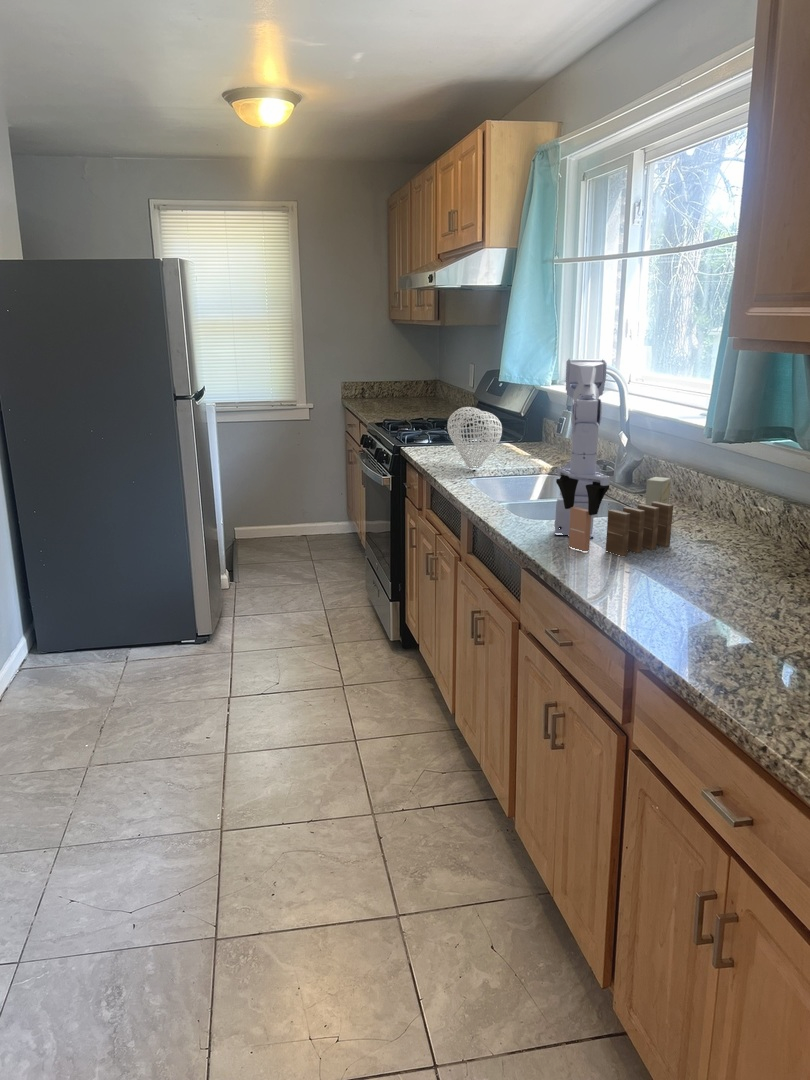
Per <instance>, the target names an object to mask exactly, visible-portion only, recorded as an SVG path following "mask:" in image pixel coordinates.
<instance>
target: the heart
mask: <svg viewBox="0 0 810 1080" xmlns="http://www.w3.org/2000/svg"><path fill="white" fill-rule="evenodd" d="M479 421H480V422H479ZM471 424H472V425H471ZM446 425H447V426H446V427H447V428H446V429H447V432H448V433H447V434H448V435H449V438H450V440H451V442H452V443H453V445H454V446H455V448H456V450H457V452H459V453H458V454H459V455H460V456H461V458H462V460H463V461H464V463H465V465H466V466H467V468H468V467H469V468H479V469H480V468H481V467H482V465H483V464H484V462H485V461H486V460H487V458H488V457H489V456H490V454H491V453H492V452H493V450H495V448H496V447H497V445H498V444H499V443H500V441H501V439H502V435H503V425H502V422H501V421H500V419H499V418H498V417H497V416H496V415H495V414H494V413H491V412H489V411H485V410H481V409H480V408H476V407H473V406H463V407H460V408H458V409H457V410H455V411H454V412H452V413H451V414H450V416H449V418H448V419H447V424H446ZM468 425H469V426H468ZM464 426H465V427H464ZM467 426H468V427H467ZM468 429H469V432H468ZM468 435H469V437H468ZM465 436H466V437H465ZM472 436H473V437H472ZM472 440H473V441H472ZM478 446H479V447H478ZM472 465H473V466H476V467H473V466H472ZM477 466H478V467H477ZM469 468H468V469H469Z"/></svg>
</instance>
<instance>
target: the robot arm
mask: <svg viewBox="0 0 810 1080" xmlns="http://www.w3.org/2000/svg"><path fill="white" fill-rule="evenodd" d="M607 364H608V363H607V360H606V358H602V359H601V358H600V359H589V358H588V359H583V358H582V359H580V358H578V359H571V358H568V359H567V360H566V365H565V391H566V395H567V396H568V397H570V398H572V400H573V401H572V403H571V413H570V415H571V416H570V417H571V418H570V421H571V434H572V435H571V450H570V452H571V453H570V461H568V462H567V463H565V464H564V465H563V466H562V467H558V468H557V469H556V470H557V471H556V472H557V473H556V477H559V478H557V479H555V480H556V484H557V485H558V488H559V491H560V492H559V493H560V494H559V495H560V496H561V498H557V499H556V506H555V520H554V534H555V533H562V534H563V535H569V529H570V510H571V507H579V508H583V509H587V510H588V512H589V515H591V526H590V537H593V538H594V536H595V531H596V529H595V528H594V516H595V515H598V513H599V509H600V506H601V503H602V502H603V498H604V496H605V495H606V493H607V492H608V490H609V489H610V484H611V483H610V482H611V481H610V480H611V476H610V475H605V474H603V473H602V469H601V467H600V466H599V465H598V463H597V458H598V457H597V456H598V454H597V453H598V442H599V426H600V425H601V421H602V413H603V412H602V411H603V410H602V409H603V405H602V404H603V403H602V400H601V398H600V397H601V396H603V394H604V393H603V392H604V391H605V383H606V380H607V367H608V365H607ZM559 528H560V529H559Z"/></svg>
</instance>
